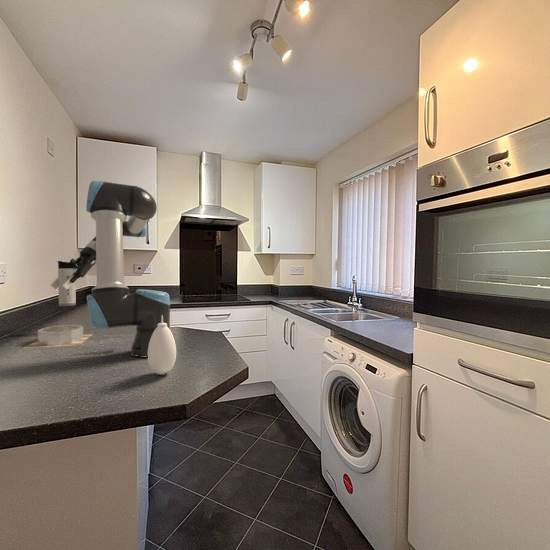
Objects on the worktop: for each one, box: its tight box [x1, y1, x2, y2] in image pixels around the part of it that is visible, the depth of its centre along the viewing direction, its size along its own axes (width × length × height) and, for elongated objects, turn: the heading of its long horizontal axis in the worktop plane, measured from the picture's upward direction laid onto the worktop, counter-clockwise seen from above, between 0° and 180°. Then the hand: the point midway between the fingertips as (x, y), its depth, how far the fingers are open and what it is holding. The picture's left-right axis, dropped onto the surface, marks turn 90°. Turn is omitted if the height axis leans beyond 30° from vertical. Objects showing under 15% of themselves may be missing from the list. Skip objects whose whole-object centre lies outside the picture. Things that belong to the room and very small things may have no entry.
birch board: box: [23, 333, 94, 349], centre depth 120 cm, size 18×18×1 cm
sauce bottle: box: [147, 315, 177, 374], centre depth 88 cm, size 8×8×18 cm
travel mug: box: [57, 260, 77, 307], centre depth 133 cm, size 6×7×20 cm
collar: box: [37, 324, 84, 346], centre depth 120 cm, size 14×14×5 cm
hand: (58, 287), depth 129 cm, fingers closed on travel mug, 6 cm apart
